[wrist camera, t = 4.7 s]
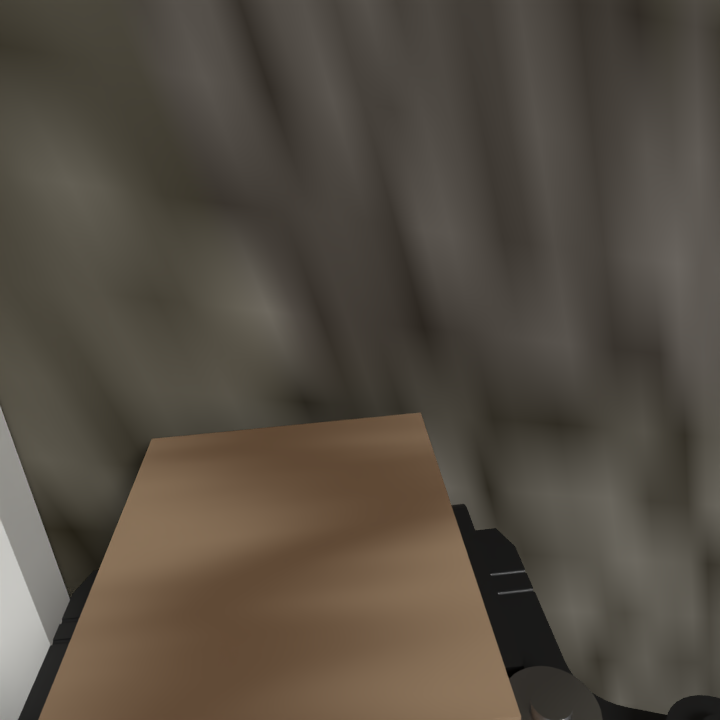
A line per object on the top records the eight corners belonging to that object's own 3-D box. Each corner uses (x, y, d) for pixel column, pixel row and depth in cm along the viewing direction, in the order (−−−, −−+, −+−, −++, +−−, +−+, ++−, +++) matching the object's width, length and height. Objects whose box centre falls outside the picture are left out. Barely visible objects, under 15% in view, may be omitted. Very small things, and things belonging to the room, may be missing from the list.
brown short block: (420, 412, 12) (521, 716, 6) (424, 604, 14) (502, 952, 8) (151, 438, 11) (15, 776, 6) (200, 629, 14) (131, 1003, 8)
